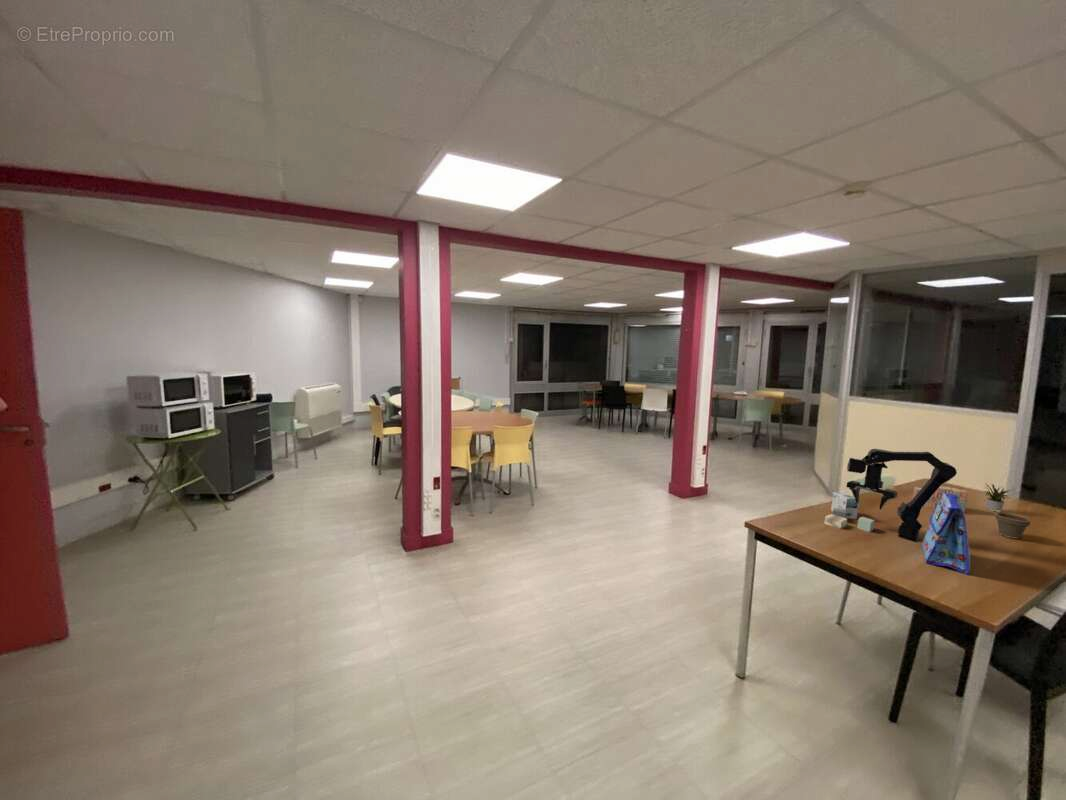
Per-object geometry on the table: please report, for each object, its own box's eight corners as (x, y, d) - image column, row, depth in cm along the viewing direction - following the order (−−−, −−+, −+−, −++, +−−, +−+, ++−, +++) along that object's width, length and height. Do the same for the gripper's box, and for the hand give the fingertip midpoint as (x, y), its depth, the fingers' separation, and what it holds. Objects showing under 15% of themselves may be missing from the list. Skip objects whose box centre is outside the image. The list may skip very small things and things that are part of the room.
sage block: (872, 529, 208) (874, 520, 207) (869, 532, 205) (871, 522, 204) (860, 526, 212) (862, 516, 211) (857, 528, 209) (858, 518, 208)
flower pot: (987, 529, 216) (991, 510, 215) (1019, 535, 210) (1024, 515, 209) (997, 537, 206) (1001, 517, 205) (1031, 544, 200) (1035, 523, 199)
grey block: (844, 519, 219) (845, 510, 219) (843, 522, 216) (845, 512, 215) (832, 516, 223) (834, 507, 222) (831, 519, 219) (833, 510, 218)
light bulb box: (857, 519, 220) (860, 499, 219) (844, 518, 220) (847, 498, 219) (842, 511, 231) (845, 492, 230) (830, 510, 231) (832, 491, 230)
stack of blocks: (914, 504, 248) (917, 484, 246) (911, 501, 253) (915, 481, 252) (964, 513, 237) (968, 492, 235) (960, 510, 242) (964, 489, 240)
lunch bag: (920, 545, 192) (931, 484, 188) (962, 556, 184) (975, 492, 180) (924, 563, 176) (936, 496, 172) (970, 576, 167) (984, 506, 163)
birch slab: (846, 526, 211) (847, 518, 210) (840, 529, 207) (841, 521, 206) (830, 521, 216) (831, 513, 216) (824, 524, 212) (825, 516, 212)
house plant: (966, 505, 250) (972, 479, 248) (981, 504, 254) (986, 478, 252) (999, 515, 237) (1004, 487, 234) (1014, 513, 241) (1020, 486, 239)
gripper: (903, 478, 202) (898, 509, 204) (856, 467, 217) (852, 497, 219) (895, 481, 196) (890, 513, 198) (848, 470, 211) (843, 501, 213)
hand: (868, 506), depth 207 cm, fingers open, 9 cm apart
